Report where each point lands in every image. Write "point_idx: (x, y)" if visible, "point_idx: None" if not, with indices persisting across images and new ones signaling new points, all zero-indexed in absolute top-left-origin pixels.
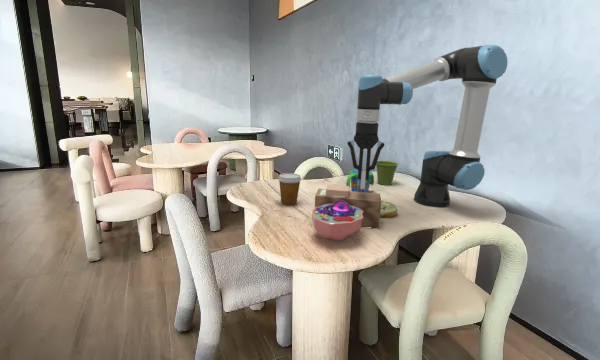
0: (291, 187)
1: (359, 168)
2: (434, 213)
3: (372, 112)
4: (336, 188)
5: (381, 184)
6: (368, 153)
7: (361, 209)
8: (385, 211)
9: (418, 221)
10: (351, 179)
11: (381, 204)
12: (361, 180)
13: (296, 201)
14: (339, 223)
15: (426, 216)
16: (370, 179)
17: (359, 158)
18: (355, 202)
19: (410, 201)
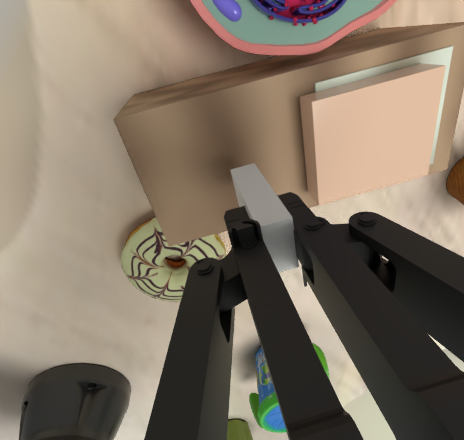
0: None
1: (321, 226)
2: (33, 325)
3: None
4: (384, 123)
5: (236, 419)
6: (312, 393)
7: (197, 8)
8: (150, 226)
9: (42, 242)
10: None
11: (183, 275)
12: (265, 185)
13: (454, 182)
14: None
15: (41, 293)
16: (259, 399)
17: (385, 291)
18: (249, 79)
19: (132, 367)
